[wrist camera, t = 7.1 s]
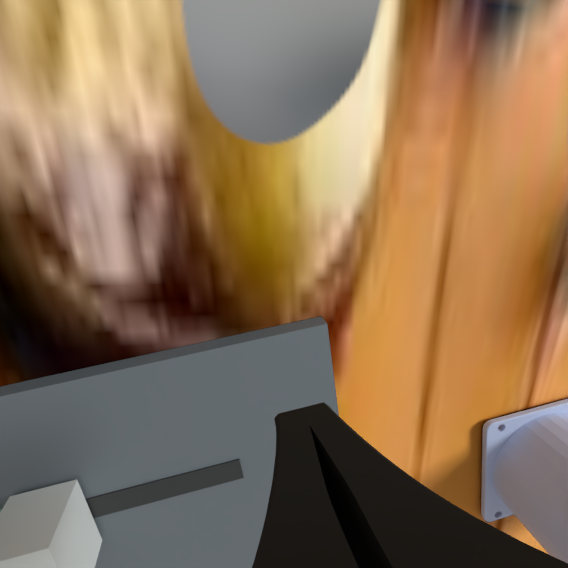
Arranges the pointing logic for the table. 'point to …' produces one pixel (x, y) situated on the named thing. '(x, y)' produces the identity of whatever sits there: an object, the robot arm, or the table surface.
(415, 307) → the table surface
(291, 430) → the robot arm
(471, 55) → the table surface
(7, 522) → the block
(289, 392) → the switch board
